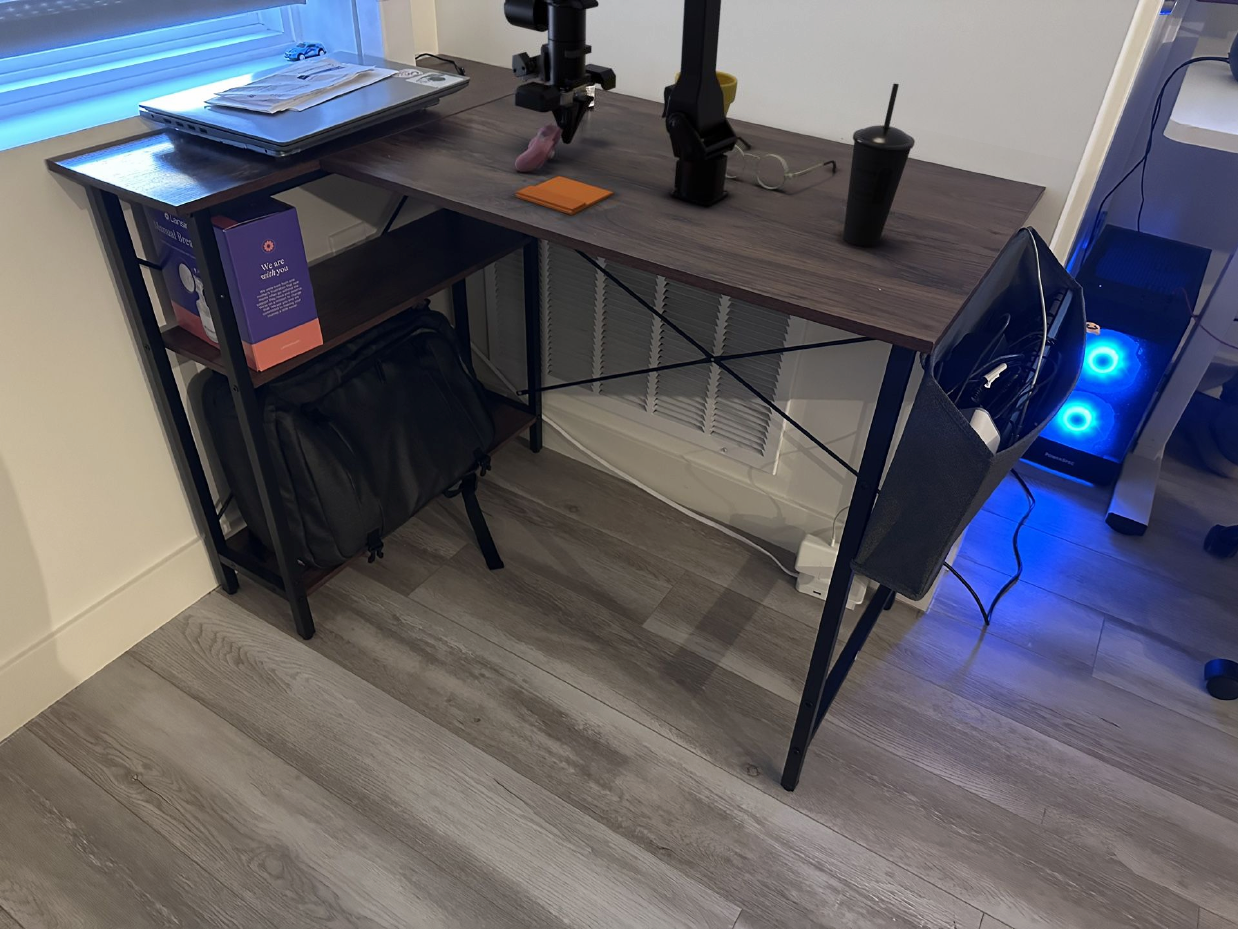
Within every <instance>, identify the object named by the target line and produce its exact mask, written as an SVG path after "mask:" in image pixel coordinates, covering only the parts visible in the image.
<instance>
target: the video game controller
mask: <svg viewBox="0 0 1238 929" xmlns="http://www.w3.org/2000/svg"><path fill="white" fill-rule="evenodd" d="M562 132H563V130H562V129H561V128H560V127H559V126H557V124H554V125H553V124H552V123H551V122H549V124H546V125H543V126H541V127H540V128H539V129H538V132H537V135H536V136H535V137H533V138H532V139H531V140H530V141H529V143H528V147H527V148H528V149H527V150H526V151H524V152H523V153H522V154H520V155H519V156H518V157H517V158H516V160H515V162H514V167H515V169H516V170H517V171H518V172H522V173H523V172H529V171H532V170H534V169H535V168H536V167H539V168H540V169H542V168H543V167H544V164H545V163H546V162H547V161H548V160H549V159H552V158H553V157H554V155H555V150H554V149H555V147H556V145H558V144H559V142H560V140H561V139H562V138H561V134H562Z"/></svg>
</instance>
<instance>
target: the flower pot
mask: <svg viewBox="0 0 1238 929" xmlns="http://www.w3.org/2000/svg"><path fill="white" fill-rule="evenodd" d="M679 75H680V71H678V72H677V73H676V74H675V76H674V84H676V82H677V80H678V77H679ZM716 76H717V78H718V81H719V83H720V86H721V89H722V91H723V96H724V113H725V117H726V118H727V115H728V112H729V109H730V106H731V105H732V104H733V103H734V102H735V100H736V95H737V89H738V79H737V77H736V76H734V75H732V74H731V73H728V72H724V71H718V70H716ZM701 140H702V141H703V140H704V139H701Z"/></svg>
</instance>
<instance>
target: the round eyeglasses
mask: <svg viewBox="0 0 1238 929" xmlns="http://www.w3.org/2000/svg"><path fill="white" fill-rule="evenodd" d="M737 137H738V140H739V141H740V142H741V143H742V144H743V145H744V146H745V147H746V149H748V150H750V149H751V148H752V145H751V144H750V143H749V142H747V141H746V140H745V139H743V138H742V137H741V136H737ZM734 148H735V149H736V150H738V151H739V153H740V154H741V157H742V161H743V166H742V169H741V171H740V173H739V174H737V175H735V176H731V175H729V174H728V173H726V175H725V178H726V179H727V178H728V179H735V178H738V177H739V176H741V175H742V174H743V172H744V171H745V169H746V164H747V158H746V156H749V157H751V158H756V159H757V160H756V162H755V164H754V167H755V168H754V173H755V179H756V180H757V182H758V184H759V185H760V186H761V187H763V188H764V189H767V190H775V189H777V188H778V189H781V188H782V186H783V185H784V184H785V182H786V181H787V179H788V180H793V179H796V178H799V177H801V176H803V175H806V174H809V173H811V172H814V171H817V170H818V169H820V168H823V167H824V166H827V165H830V164H832V171H833V172H834V171H835V170H837V164H836V163H837V162H836V161H835V160H828V161H827V162H824V163H823V162H821V163H820V164H817V165H814V166H811V167H809V168H807V169H803V170H801V171H799V172H794V173H792V172H791V173H788V172H789V166H788V163H787V161H786V160H785V159H784V158H783V157H781V156H780V155H777V154H772V153H771V154H766V155H763V156H762V157H761V158H760V157H759V156H758V155H756V154H751V153H748V152H747V153H744V152H743V150H742V149H741V148H740V147H739V146H738V145H737V144H735V147H734ZM765 157H773V158H775V159H777V160H778V162H779V163H780V164H781V166H782V168H783V179H782V181H781V183H780V184H779V185H777V186H773V187H770V186H768V185H765V184H764V183H763V182H762V181H761V180H760V178H759V175H758V174H760V170H758V168H759V164H760V162H761V161H762V160H763V159H764V158H765ZM787 173H788V174H787Z"/></svg>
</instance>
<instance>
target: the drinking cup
mask: <svg viewBox="0 0 1238 929" xmlns="http://www.w3.org/2000/svg"><path fill="white" fill-rule="evenodd" d="M899 86H900V85H899V83H893V85H892V88H891V92H890V96H889V101H888V106H887V111H886V114H885V119H884V124H882V125H881V124H880V125H879V124H877V125H871V126H867V127H864V128H860V129H858V130H856V131H854V132H853V134H852V140H853V150H852V158H851V167H850V176H849V184H848V193H847V201H846V209H845V215H844V216H845V217H844V226H843V234H842V238H843V240H844V241H845V242H847V243H848V244H850V245H854V246H858V247H862V248H863V247H864V248H865V247H869V248H870V247H874V246H877V245H879V243H880V241H881V238H882V234H883V232H884V229H885V225H886V224H887V219H888V216H889V214H890V211H891V208H892V206H893V202H894V199H895V196H896V193H897V191H898V188H899V185H900V181H901V179H902V177H903V173H904V170H905V168H906V164H907V161H908V158H909V155H910V153H911V150H912V149H913V148H914V146H915V144H916V141H915V138H914V137H913V136H911V135H909V134H908V133H906V132H905V131H903V130H901V129H900V128H897V127H896V126H895V127H894V126H890V125H891V122H892V117H893V112H894V107H895V103H896V99H897V95H898V91H899Z"/></svg>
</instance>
